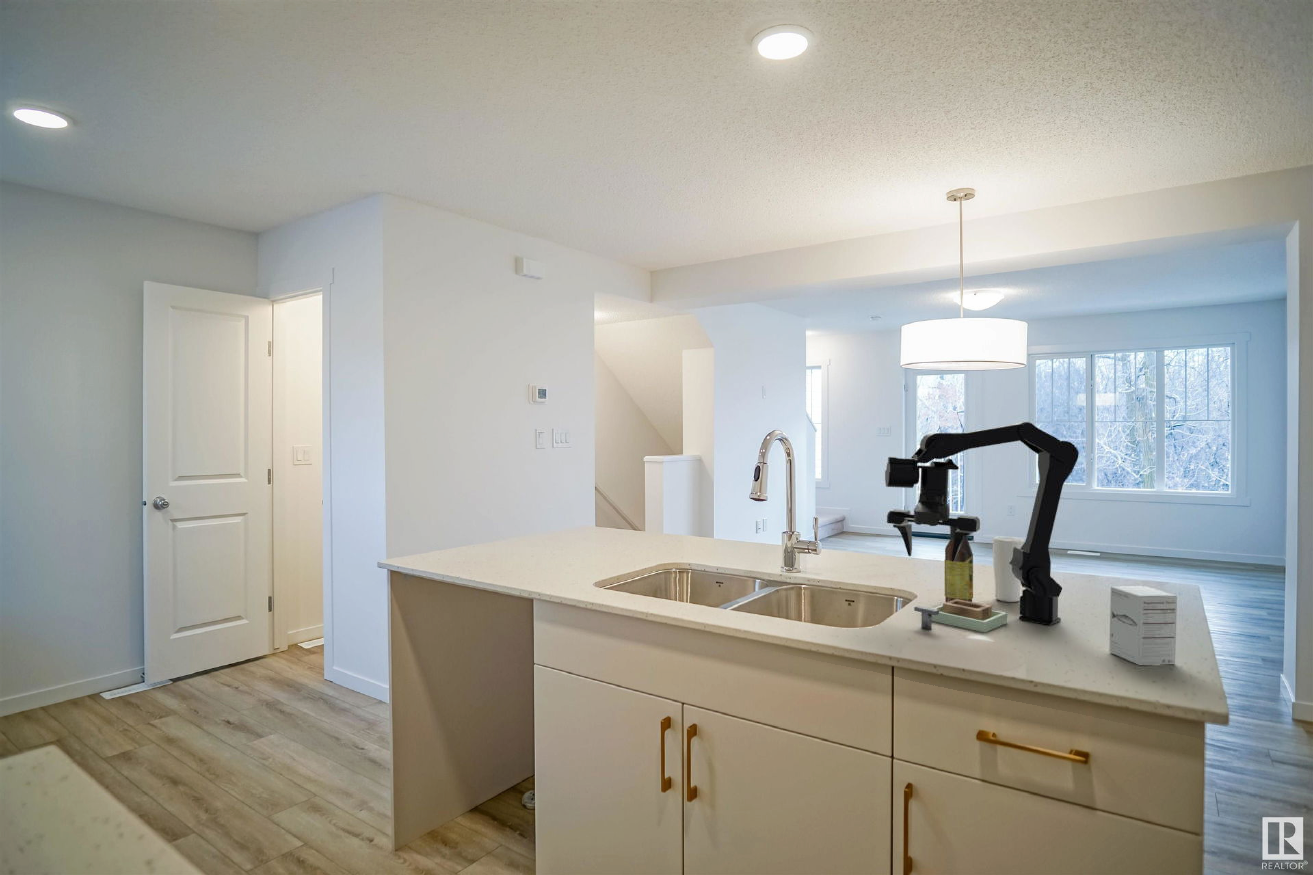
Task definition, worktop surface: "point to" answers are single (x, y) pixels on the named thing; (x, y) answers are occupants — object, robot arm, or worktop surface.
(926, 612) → the grey t-shaped knob
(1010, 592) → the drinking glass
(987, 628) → the tray
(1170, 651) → the supplement box
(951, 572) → the sauce bottle
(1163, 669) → the worktop surface
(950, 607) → the collar
